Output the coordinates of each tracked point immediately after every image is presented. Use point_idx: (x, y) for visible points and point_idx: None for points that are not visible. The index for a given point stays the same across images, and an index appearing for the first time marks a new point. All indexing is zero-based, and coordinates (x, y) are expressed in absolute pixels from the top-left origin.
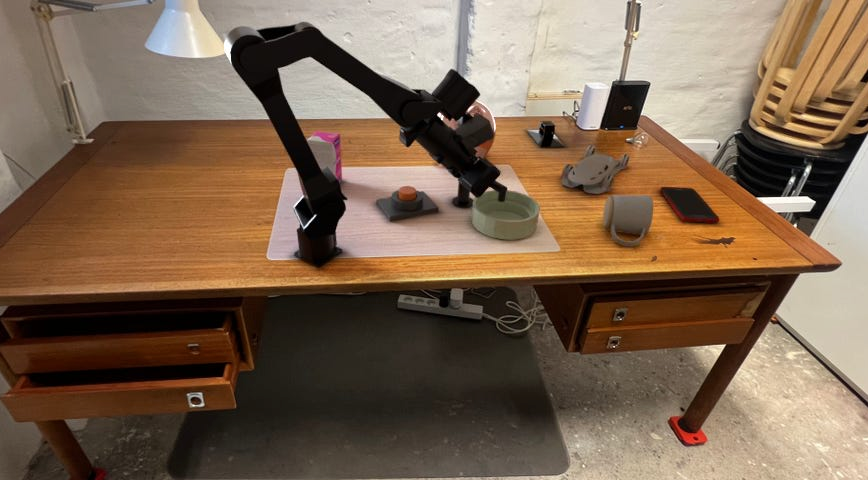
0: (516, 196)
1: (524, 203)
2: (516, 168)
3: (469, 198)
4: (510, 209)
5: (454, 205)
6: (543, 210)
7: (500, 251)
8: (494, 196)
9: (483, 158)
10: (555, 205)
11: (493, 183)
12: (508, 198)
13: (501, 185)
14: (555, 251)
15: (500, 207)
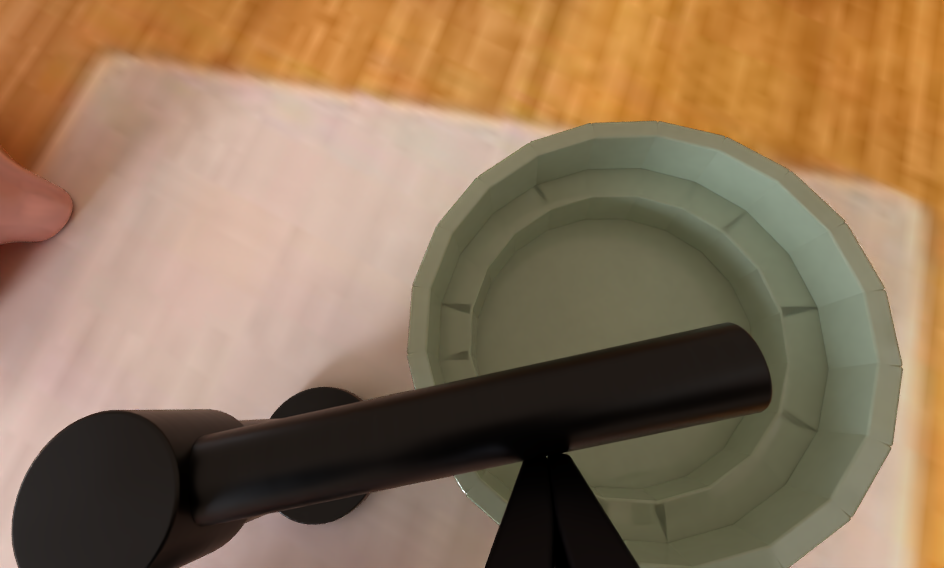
0: (502, 191)
1: (552, 175)
2: (146, 40)
3: (307, 401)
4: (513, 251)
5: (332, 520)
6: (534, 100)
7: (890, 509)
8: (436, 310)
9: (3, 149)
10: (509, 35)
11: (624, 428)
12: (473, 234)
13: (728, 381)
14: (923, 223)
15: (483, 295)
